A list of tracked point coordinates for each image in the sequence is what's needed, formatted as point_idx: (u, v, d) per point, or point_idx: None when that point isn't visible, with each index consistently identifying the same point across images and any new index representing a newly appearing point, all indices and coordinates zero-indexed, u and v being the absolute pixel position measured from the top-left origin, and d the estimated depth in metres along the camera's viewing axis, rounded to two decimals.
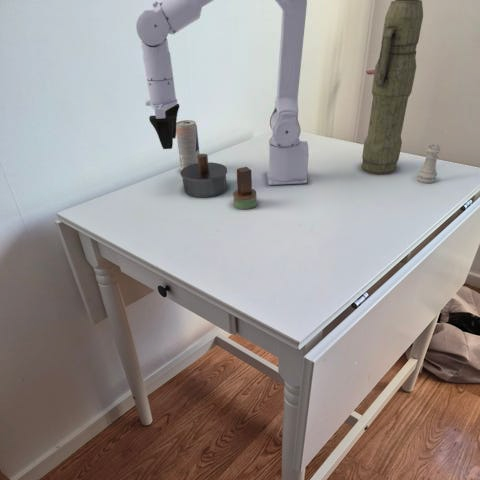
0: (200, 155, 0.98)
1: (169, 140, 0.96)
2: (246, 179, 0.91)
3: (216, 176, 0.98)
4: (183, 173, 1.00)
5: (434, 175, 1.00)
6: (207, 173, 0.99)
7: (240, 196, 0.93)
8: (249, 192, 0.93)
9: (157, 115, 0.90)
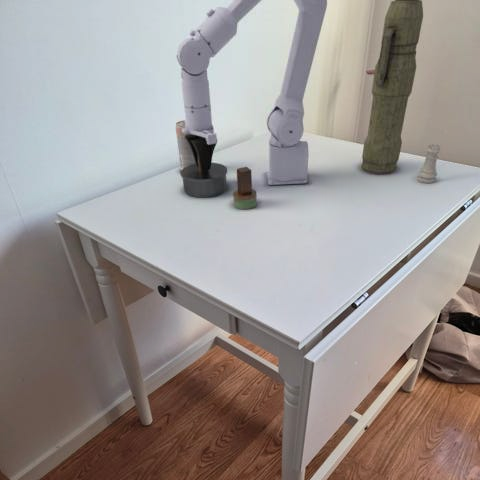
0: None
1: (209, 161, 0.98)
2: (246, 179, 0.91)
3: (216, 176, 0.98)
4: (183, 173, 1.00)
5: (434, 175, 1.00)
6: (207, 173, 0.99)
7: (240, 196, 0.93)
8: (249, 192, 0.93)
9: (210, 141, 0.90)
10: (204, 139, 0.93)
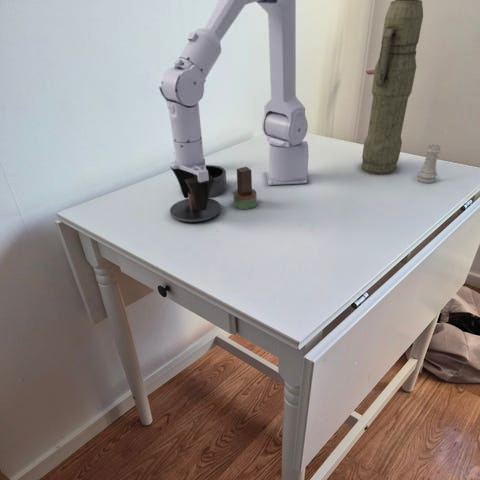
0: None
1: (204, 201, 0.88)
2: (246, 179, 0.91)
3: (208, 215, 0.90)
4: (172, 211, 0.92)
5: (434, 175, 1.00)
6: (199, 211, 0.91)
7: (240, 196, 0.93)
8: (249, 192, 0.93)
9: (201, 178, 0.82)
10: None
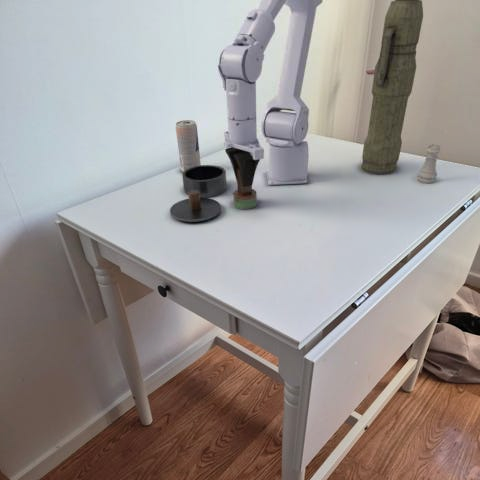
0: (191, 192, 0.91)
1: (251, 177, 0.90)
2: None
3: (208, 215, 0.90)
4: (172, 211, 0.92)
5: (434, 175, 1.00)
6: (199, 211, 0.91)
7: (240, 196, 0.93)
8: (249, 192, 0.93)
9: (256, 156, 0.82)
10: (249, 153, 0.85)
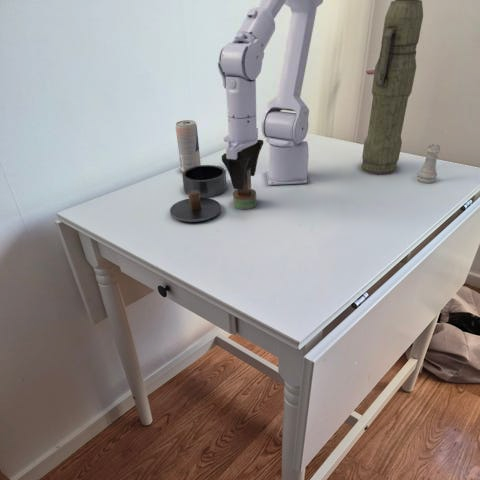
0: (191, 192, 0.91)
1: (240, 181, 0.88)
2: None
3: (208, 215, 0.90)
4: (172, 211, 0.92)
5: (434, 175, 1.00)
6: (199, 211, 0.91)
7: (235, 194, 0.94)
8: (245, 193, 0.93)
9: (228, 155, 0.82)
10: None
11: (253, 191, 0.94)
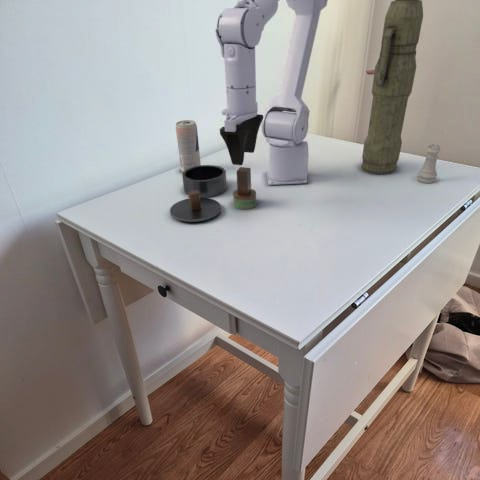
0: (191, 192, 0.91)
1: (239, 156, 0.85)
2: (241, 179, 0.91)
3: (208, 215, 0.90)
4: (172, 211, 0.92)
5: (434, 175, 1.00)
6: (199, 211, 0.91)
7: (235, 194, 0.94)
8: (245, 193, 0.93)
9: (226, 128, 0.79)
10: None
11: (253, 191, 0.94)
